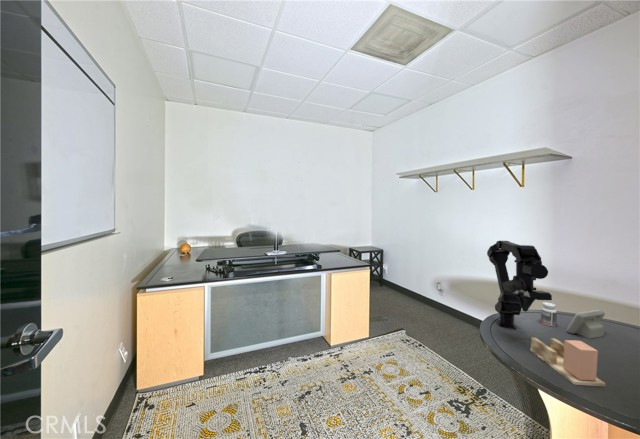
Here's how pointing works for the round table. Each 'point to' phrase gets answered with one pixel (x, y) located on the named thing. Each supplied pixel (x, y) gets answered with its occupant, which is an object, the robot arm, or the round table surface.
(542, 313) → the pill bottle
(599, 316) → the digital clock
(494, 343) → the round table surface
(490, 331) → the round table surface
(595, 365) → the block
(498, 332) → the round table surface
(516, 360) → the round table surface
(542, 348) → the chute
